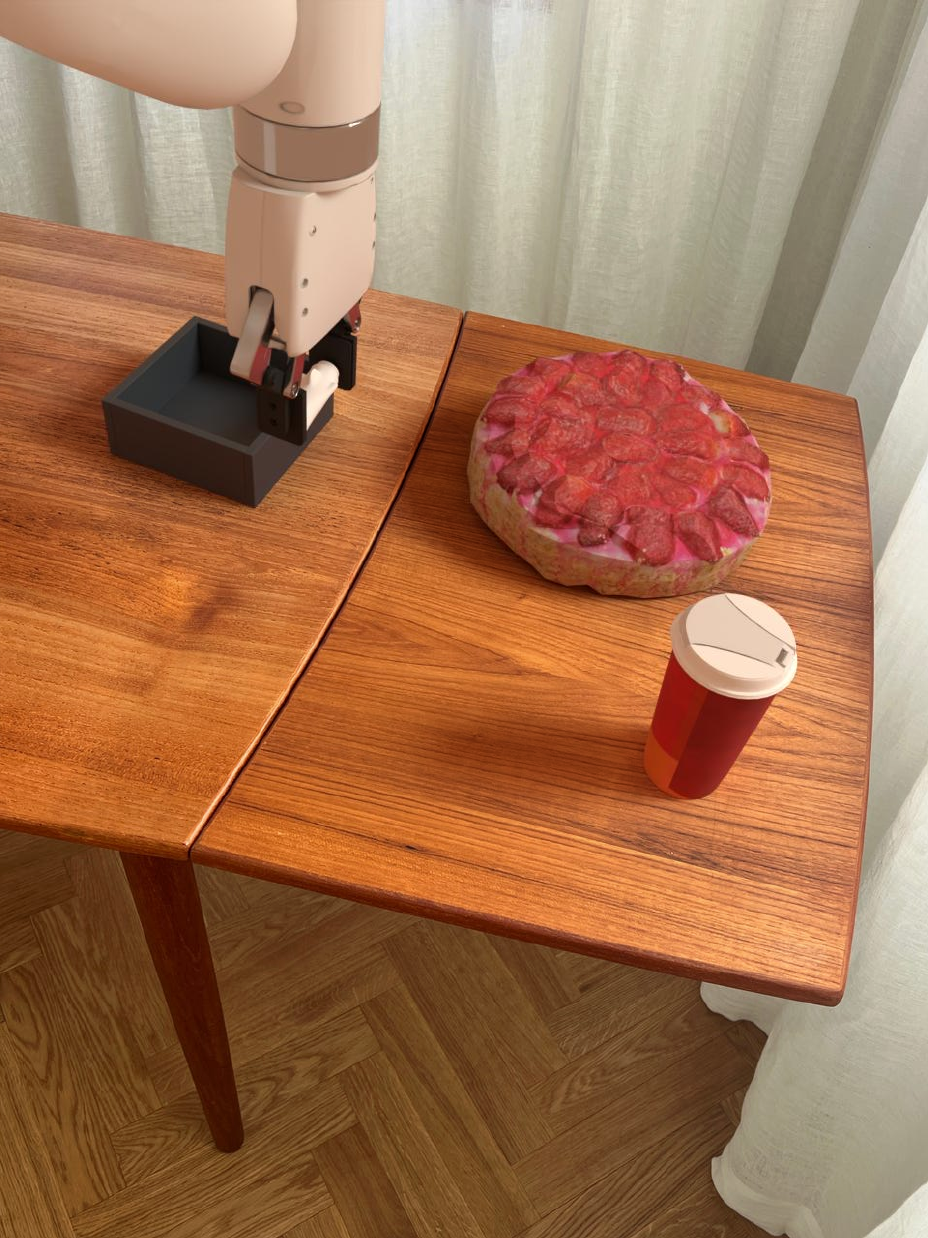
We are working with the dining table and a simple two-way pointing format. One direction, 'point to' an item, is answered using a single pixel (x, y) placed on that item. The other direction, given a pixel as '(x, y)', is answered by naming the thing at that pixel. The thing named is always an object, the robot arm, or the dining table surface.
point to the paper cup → (716, 690)
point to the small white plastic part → (319, 387)
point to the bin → (201, 416)
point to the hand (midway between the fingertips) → (307, 406)
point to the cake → (619, 474)
